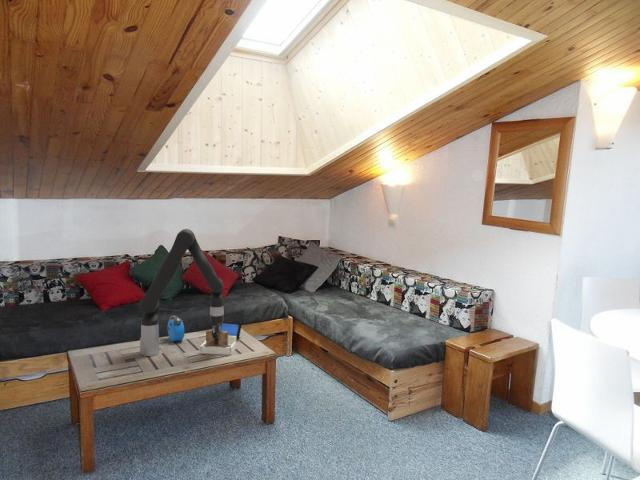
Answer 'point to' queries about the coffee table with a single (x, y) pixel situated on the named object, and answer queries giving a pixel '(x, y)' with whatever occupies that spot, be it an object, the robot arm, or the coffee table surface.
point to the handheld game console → (232, 329)
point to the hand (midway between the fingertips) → (216, 343)
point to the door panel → (221, 338)
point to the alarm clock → (175, 329)
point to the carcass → (220, 350)
